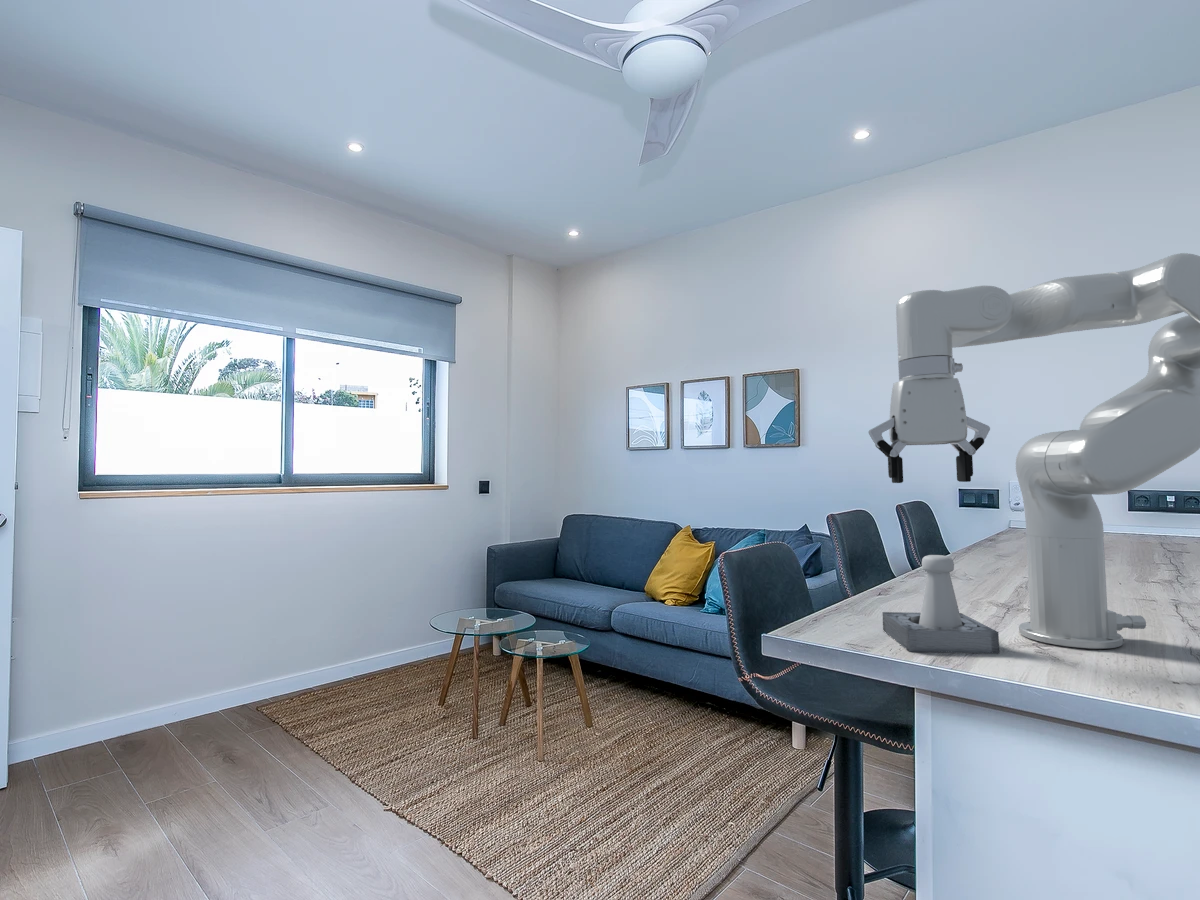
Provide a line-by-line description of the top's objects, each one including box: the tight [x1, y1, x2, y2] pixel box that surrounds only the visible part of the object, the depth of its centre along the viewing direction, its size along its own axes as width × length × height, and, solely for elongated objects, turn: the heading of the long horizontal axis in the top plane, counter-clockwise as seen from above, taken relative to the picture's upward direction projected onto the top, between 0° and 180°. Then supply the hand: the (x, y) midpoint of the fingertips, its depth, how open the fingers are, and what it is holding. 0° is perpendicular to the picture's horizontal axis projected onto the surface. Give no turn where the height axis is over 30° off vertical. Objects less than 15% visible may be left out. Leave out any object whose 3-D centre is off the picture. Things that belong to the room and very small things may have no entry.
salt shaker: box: [919, 554, 963, 628], centre depth 93 cm, size 6×6×13 cm
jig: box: [882, 611, 1000, 654], centre depth 93 cm, size 12×12×3 cm
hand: (930, 482), depth 94 cm, fingers open, 9 cm apart
